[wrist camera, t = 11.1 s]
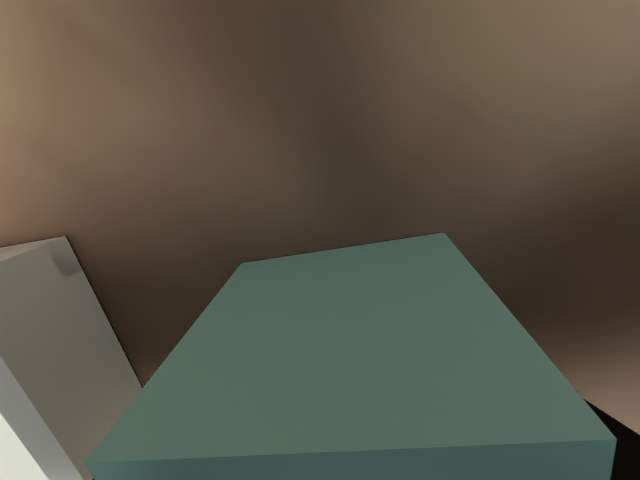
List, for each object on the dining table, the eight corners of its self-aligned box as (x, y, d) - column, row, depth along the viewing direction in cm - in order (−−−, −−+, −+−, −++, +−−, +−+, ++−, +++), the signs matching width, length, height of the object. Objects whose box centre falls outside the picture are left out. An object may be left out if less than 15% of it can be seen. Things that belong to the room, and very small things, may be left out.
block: (444, 232, 7) (616, 438, 2) (456, 396, 9) (572, 705, 4) (241, 263, 8) (83, 463, 3) (287, 408, 10) (225, 678, 5)
